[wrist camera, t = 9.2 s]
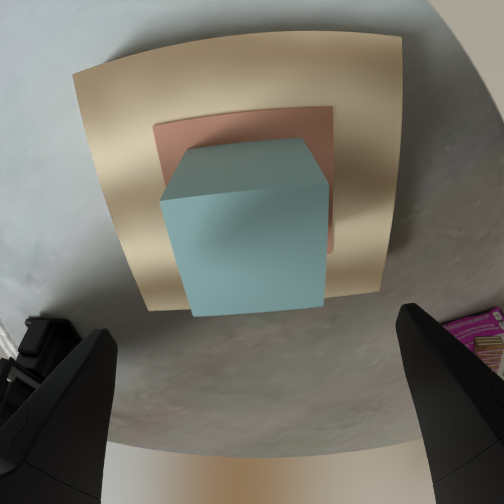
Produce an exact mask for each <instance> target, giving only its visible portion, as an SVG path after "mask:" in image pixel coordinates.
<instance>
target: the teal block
mask: <svg viewBox="0 0 504 504" xmlns="http://www.w3.org/2000/svg"><path fill="white" fill-rule="evenodd" d="M159 202H160V206H161V210H162V214H163V217H164V221H165V225H166V228H167V232H168V235H169V239H170V242H171V246H172V249H173V253H174V256H175V260H176V263H177V266H178V270H179V273H180V276H181V279H182V283H183V286H184V289H185V292H186V295H187V298H188V302H189V305H190V308H191V311H192V314H193V317H200V316H217V315H232V314H246V313H259V312H270V311H282V310H292V309H303V308H312V307H322V306H323V305H324V292H325V277H326V260H327V240H328V212H329V183H328V181H327V180H326V178H325V176H324V174H323V172H322V171H321V169H320V167H319V165H318V164H317V162H316V160H315V159H314V157H313V155H312V153H311V152H310V150H309V148H308V147H307V145H306V143H305V142H304V140H303V138H288V139H275V140H262V141H252V142H242V143H232V144H224V145H216V146H208V147H200V148H193V149H187V150H186V152H185V154H184V155H183V157H182V159H181V161H180V163H179V164H178V166H177V168H176V170H175V172H174V174H173V175H172V177H171V179H170V181H169V183H168V185H167V187H166V189H165V191H164V193H163V195H162V196H161V198H160V200H159Z"/></svg>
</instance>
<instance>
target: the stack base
mask: <svg viewBox="0 0 504 504" xmlns="http://www.w3.org/2000/svg"><path fill="white" fill-rule="evenodd" d="M72 75H73V80H74V85H75V90H76V94H77V99H78V103H79V108H80V112H81V116H82V120H83V124H84V128H85V132H86V136H87V140H88V144H89V147H90V151H91V154H92V158H93V161H94V165H95V168H96V172H97V175H98V178H99V181H100V185H101V188H102V191H103V194H104V197H105V200H106V203H107V206H108V209H109V212H110V215H111V218H112V221H113V224H114V226H115V229H116V232H117V235H118V237H119V240H120V243H121V245H122V248H123V251H124V253H125V256H126V258H127V261H128V263H129V266H130V268H131V271H132V273H133V276H134V278H135V281H136V283H137V285H138V288H139V290H140V293H141V295H142V297H143V300H144V302H145V304H146V306H147V309H148V311H163V310H183V309H191V308H190V305H189V302H188V298H187V295H186V292H185V289H184V286H183V283H182V279H181V276H180V273H179V270H178V266H177V263H176V260H175V256H174V253H173V249H172V246H171V242H170V239H169V235H168V232H167V228H166V225H165V221H164V217H163V214H162V210H161V206H160V202H159V200H160V198H161V196H162V195H163V193H164V191H165V189H166V187H167V185H168V183H169V181H170V179H171V177H172V175H173V174H174V172H175V170H176V168H177V166H178V164H179V163H180V161H181V159H182V157H183V155H184V154H185V152H186V150H187V149H193V148H200V147H208V146H216V145H224V144H232V143H242V142H252V141H262V140H275V139H288V138H303V140H304V142H305V143H306V145H307V147H308V148H309V150H310V152H311V153H312V155H313V157H314V159H315V160H316V162H317V164H318V165H319V167H320V169H321V171H322V172H323V174H324V176H325V178H326V180H327V181H328V183H329V212H328V240H327V260H326V277H325V292H324V298H328V297H336V296H345V295H353V294H361V293H369V292H377V291H379V290H380V285H381V280H382V275H383V270H384V265H385V260H386V255H387V249H388V243H389V237H390V231H391V225H392V218H393V211H394V203H395V195H396V187H397V178H398V168H399V157H400V143H401V127H402V101H403V58H402V37H397V36H389V35H380V34H370V33H358V32H341V31H281V32H264V33H251V34H241V35H232V36H224V37H216V38H210V39H203V40H197V41H191V42H186V43H181V44H176V45H171V46H166V47H162V48H158V49H153V50H149V51H145V52H141V53H137V54H134V55H130V56H127V57H123V58H120V59H116V60H113V61H110V62H107V63H104V64H100V65H97V66H94V67H92V68H89V69H86V70H83V71H80V72H78V73H75V74H72Z"/></svg>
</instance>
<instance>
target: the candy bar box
mask: <svg viewBox="0 0 504 504" xmlns="http://www.w3.org/2000/svg"><path fill="white" fill-rule="evenodd" d="M441 325H442V326H443V327H444V328H446V329H447V330H448V331H449V332H450V333H451V334H453V335H454V336H455V337H456V338H457V339H458V340H460V341H461V342H462V343H463V344H464V345H465V346H466V347H467V348H469V349H470V350H471V351H472V352H473V353H474V354H475V355H477V356H478V357H479V358H480V359H481V360H482V361H483V362H484V363H485V364H486V365H488V366H489V367H490V368H491V369H492V371H494V372H495V373H496V374H498V375H499V376H500V377H501V378H502V379H503V380H504V314H503V312H502V310H501V309H500V307H497V308H494V309H491V310H488V311H485V312H482V313H479V314H475V315H472V316H469V317H466V318H462V319H459V320H455V321H452V322H448V323H444V324H441Z"/></svg>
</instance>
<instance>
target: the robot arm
mask: <svg viewBox="0 0 504 504" xmlns="http://www.w3.org/2000/svg"><path fill="white" fill-rule="evenodd" d="M25 325H26V326H27V328H28V330H27V332H26V334H25V336H24V338H23V340H22V342H21V344H20V346H19V348H18V352H19V354H18V356H17V359H16V361H15V359H13V358H12V357H11V356H10V358H9V360H8V359H4V358H1V359H0V504H101V500H100V499H101V490H102V478H103V468H104V460H105V459H104V458H105V451H106V443H107V436H108V428H109V422H110V415H111V409H112V403H113V397H114V389H115V377H116V364H117V353H118V347H117V343H116V342H115V340H114V338H113V337H112V335H111V333H110V332H109V330H108V329H107V328H94V329H93V330H92V331H91V332H90V333H89V334H88V335H87V336H86V337H85V338H84V339H83V340H81V338H80V337H79V335H78V334H77V332H76V331H75V329H74V328H73V326H72V325H71V323H70V322H69V321H67V320H56V319H26V321H25ZM396 332H397V337H398V341H399V346H400V351H401V356H402V361H403V366H404V371H405V375H406V378H407V382H408V385H409V388H410V392H411V395H412V399H413V402H414V406H415V409H416V413H417V417H418V421H419V425H420V428H421V432H422V436H423V440H424V445H425V449H426V453H427V458H428V462H429V467H430V472H431V476H432V482H433V488H434V493H435V499H436V504H504V380H503V379H502V378H501V377H500V376H499V375H498V374H496V373H495V372H494V371H492V369H491V368H490V367H489V366H488V365H486V364H485V363H484V362H483V361H482V360H481V359H480V358H479V357H478V356H477V355H475V354H474V353H473V352H472V351H471V350H470V349H469V348H467V347H466V346H465V345H464V344H463V343H462V342H461V341H460V340H458V339H457V338H456V337H455V336H454V335H453V334H451V333H450V332H449V331H448V330H447V329H446V328H444V327H443V326H442V325H441V324H440V323H439V322H437V321H436V320H435V319H434V318H433V317H431V316H430V315H429V314H428V313H427V312H425V311H424V310H423V309H422V308H421V307H419V306H418V305H417V304H415V303H408V304H403V305H402V306H401V308H400V311H399V314H398V317H397V321H396ZM7 378H8V379H9V380H11V382H9V381H7Z"/></svg>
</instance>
